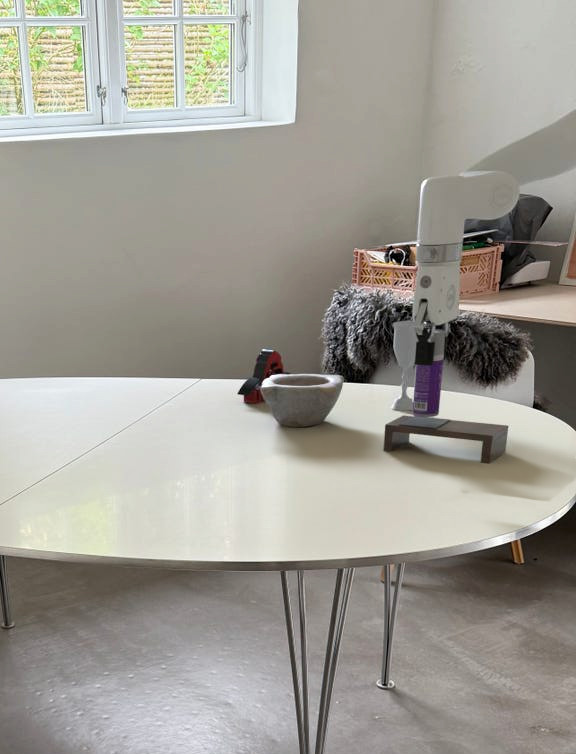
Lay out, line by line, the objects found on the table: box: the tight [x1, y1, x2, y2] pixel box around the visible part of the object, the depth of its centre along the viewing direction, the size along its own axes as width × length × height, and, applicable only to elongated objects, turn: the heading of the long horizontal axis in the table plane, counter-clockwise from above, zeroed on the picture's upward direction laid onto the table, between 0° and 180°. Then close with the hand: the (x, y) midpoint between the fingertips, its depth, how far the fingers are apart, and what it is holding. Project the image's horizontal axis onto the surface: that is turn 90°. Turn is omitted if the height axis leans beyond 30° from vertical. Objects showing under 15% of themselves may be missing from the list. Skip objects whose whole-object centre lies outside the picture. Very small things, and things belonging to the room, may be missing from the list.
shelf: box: [383, 414, 509, 464], centre depth 176 cm, size 20×8×5 cm, turn 50°
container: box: [411, 328, 446, 418], centre depth 174 cm, size 5×5×15 cm
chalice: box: [390, 320, 427, 412], centre depth 206 cm, size 7×7×18 cm
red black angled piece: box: [236, 349, 291, 404], centre depth 226 cm, size 18×4×11 cm, turn 129°
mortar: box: [261, 373, 345, 428], centre depth 203 cm, size 17×17×9 cm
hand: (430, 360), depth 173 cm, fingers closed on container, 4 cm apart
